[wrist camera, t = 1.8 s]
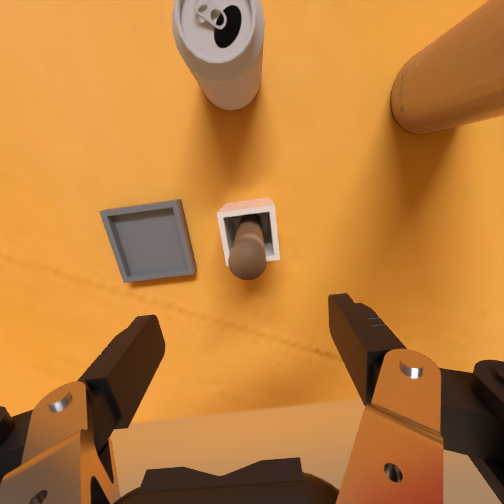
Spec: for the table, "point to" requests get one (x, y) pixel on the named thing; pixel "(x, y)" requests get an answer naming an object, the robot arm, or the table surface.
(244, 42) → the can
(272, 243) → the cup
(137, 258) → the tray
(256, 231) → the dowel
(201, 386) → the table surface
